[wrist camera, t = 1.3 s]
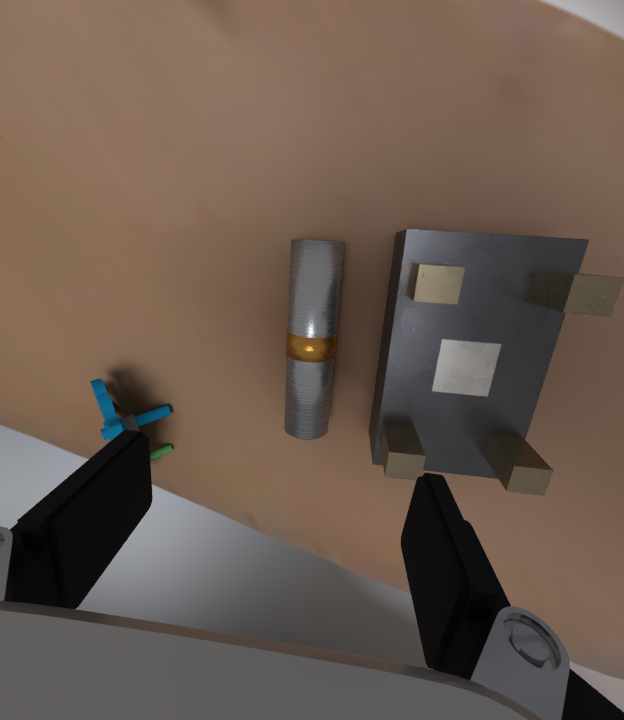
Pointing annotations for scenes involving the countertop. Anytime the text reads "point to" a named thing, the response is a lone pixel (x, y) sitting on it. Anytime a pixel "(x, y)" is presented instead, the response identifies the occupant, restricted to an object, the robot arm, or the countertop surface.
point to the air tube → (311, 335)
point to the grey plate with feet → (474, 351)
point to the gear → (125, 418)
